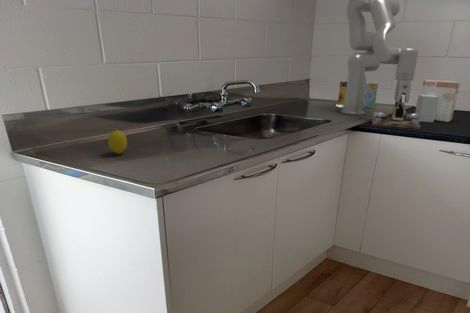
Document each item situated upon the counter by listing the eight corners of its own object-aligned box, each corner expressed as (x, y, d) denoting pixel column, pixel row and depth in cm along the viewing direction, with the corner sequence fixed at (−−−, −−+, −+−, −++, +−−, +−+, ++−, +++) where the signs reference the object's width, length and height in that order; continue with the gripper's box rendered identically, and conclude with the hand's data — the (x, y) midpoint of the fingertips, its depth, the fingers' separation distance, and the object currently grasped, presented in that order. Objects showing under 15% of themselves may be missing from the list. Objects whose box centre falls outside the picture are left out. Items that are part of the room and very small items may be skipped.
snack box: (374, 107, 205) (378, 82, 201) (374, 109, 201) (378, 83, 196) (338, 104, 213) (341, 79, 209) (337, 105, 209) (340, 80, 204)
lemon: (120, 150, 112) (118, 126, 109) (131, 153, 109) (129, 129, 106) (105, 154, 108) (103, 130, 105) (117, 158, 105) (114, 132, 102)
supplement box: (434, 122, 168) (439, 96, 164) (417, 121, 169) (423, 96, 165) (428, 119, 175) (434, 94, 171) (413, 118, 176) (418, 94, 172)
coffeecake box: (451, 120, 173) (460, 81, 167) (448, 122, 168) (458, 82, 162) (420, 115, 182) (427, 78, 176) (416, 117, 177) (423, 79, 171)
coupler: (403, 118, 161) (405, 105, 159) (405, 120, 156) (407, 107, 155) (388, 117, 163) (390, 104, 161) (390, 119, 158) (392, 106, 156)
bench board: (373, 125, 159) (373, 122, 158) (371, 120, 168) (371, 118, 167) (420, 128, 154) (420, 126, 153) (415, 124, 163) (416, 121, 162)
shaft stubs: (373, 123, 159) (375, 111, 158) (371, 120, 167) (373, 108, 165) (420, 127, 154) (423, 114, 153) (416, 123, 162) (419, 111, 160)
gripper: (417, 78, 145) (410, 120, 150) (409, 75, 160) (402, 113, 166) (398, 77, 147) (391, 119, 152) (392, 75, 162) (386, 112, 168)
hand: (397, 116), depth 159 cm, fingers closed on coupler, 5 cm apart
